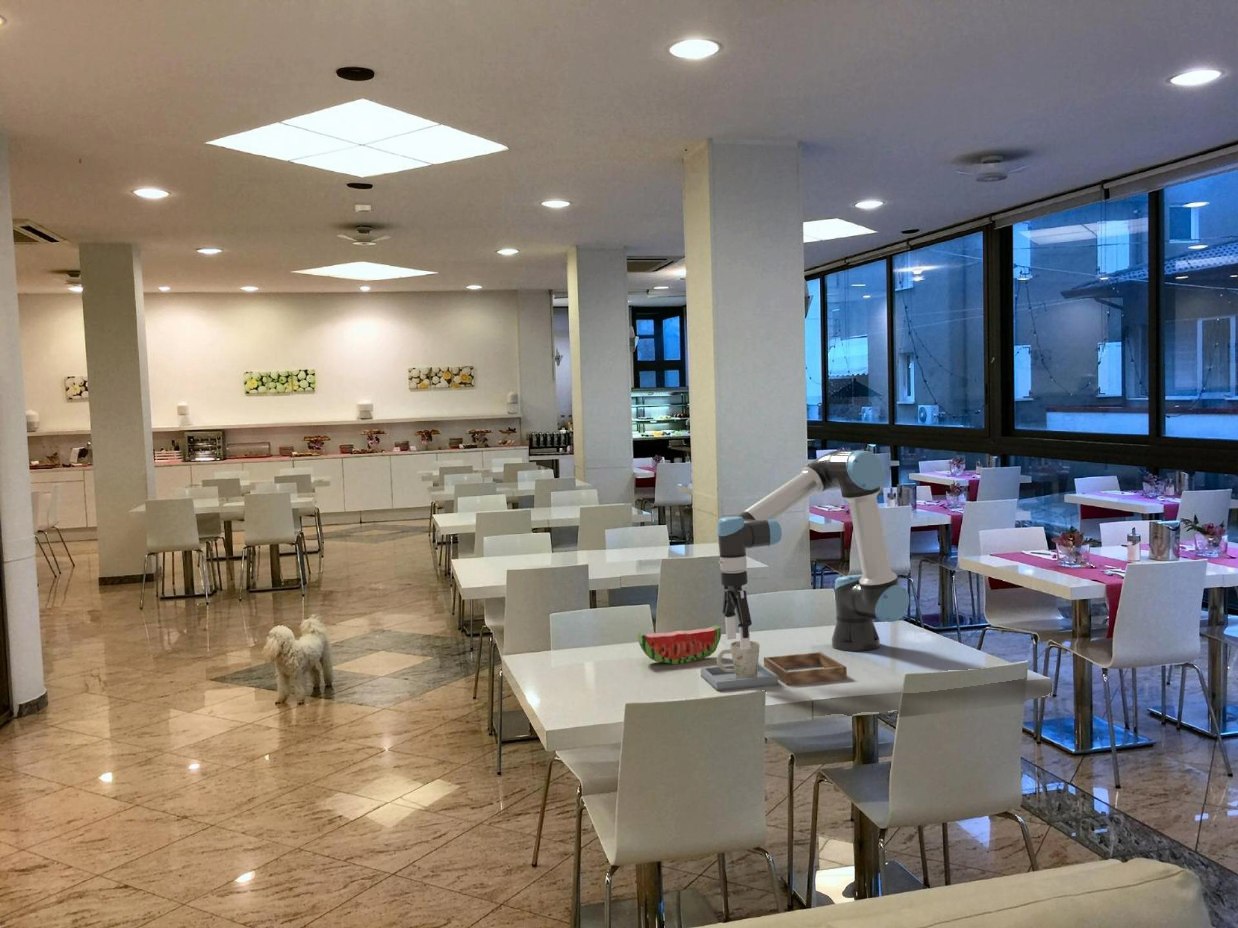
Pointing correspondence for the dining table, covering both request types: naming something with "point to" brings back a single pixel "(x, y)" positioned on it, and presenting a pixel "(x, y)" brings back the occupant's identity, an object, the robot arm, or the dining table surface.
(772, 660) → the corral
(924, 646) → the dining table surface
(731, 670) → the mug
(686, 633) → the fruit slice
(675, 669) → the dining table surface
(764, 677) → the tray
